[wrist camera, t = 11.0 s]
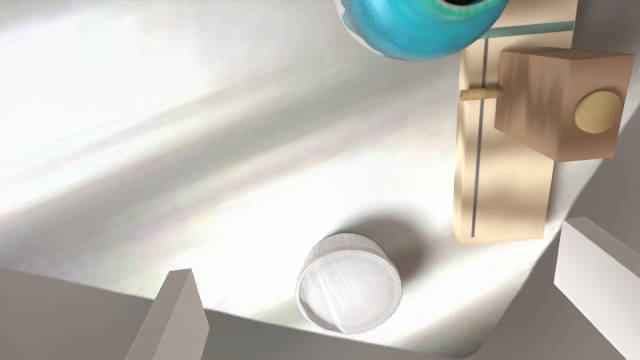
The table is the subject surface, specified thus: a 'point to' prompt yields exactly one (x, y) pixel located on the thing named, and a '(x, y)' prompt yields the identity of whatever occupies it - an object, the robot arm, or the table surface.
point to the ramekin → (348, 285)
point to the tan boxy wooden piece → (560, 100)
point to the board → (496, 147)
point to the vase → (418, 25)
